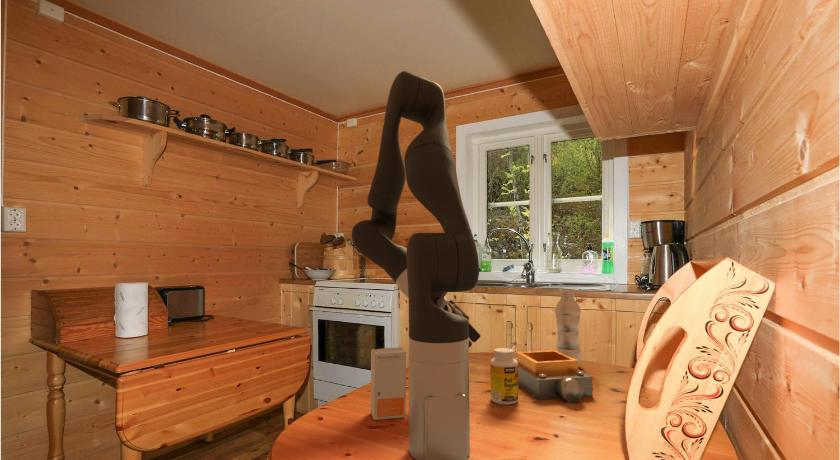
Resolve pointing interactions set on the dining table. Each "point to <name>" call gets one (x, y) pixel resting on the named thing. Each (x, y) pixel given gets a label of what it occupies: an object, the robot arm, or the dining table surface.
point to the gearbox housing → (552, 376)
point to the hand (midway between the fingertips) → (473, 343)
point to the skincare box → (388, 383)
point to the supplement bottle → (504, 377)
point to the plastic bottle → (568, 324)
